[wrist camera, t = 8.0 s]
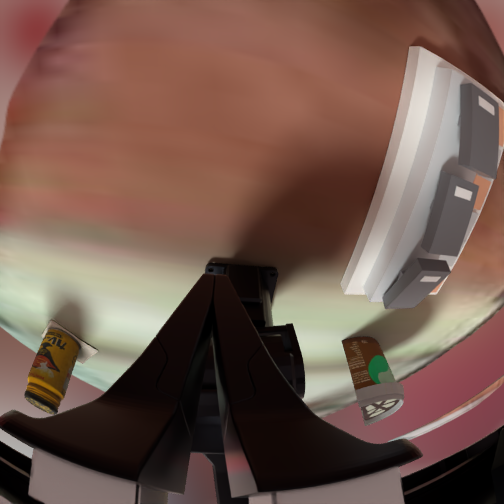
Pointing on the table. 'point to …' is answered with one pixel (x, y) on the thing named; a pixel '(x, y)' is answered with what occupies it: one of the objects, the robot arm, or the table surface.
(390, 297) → the block
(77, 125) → the table surface
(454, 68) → the switch unit
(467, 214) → the rocker middle
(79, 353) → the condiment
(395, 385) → the food container
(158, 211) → the table surface
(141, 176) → the table surface
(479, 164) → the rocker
